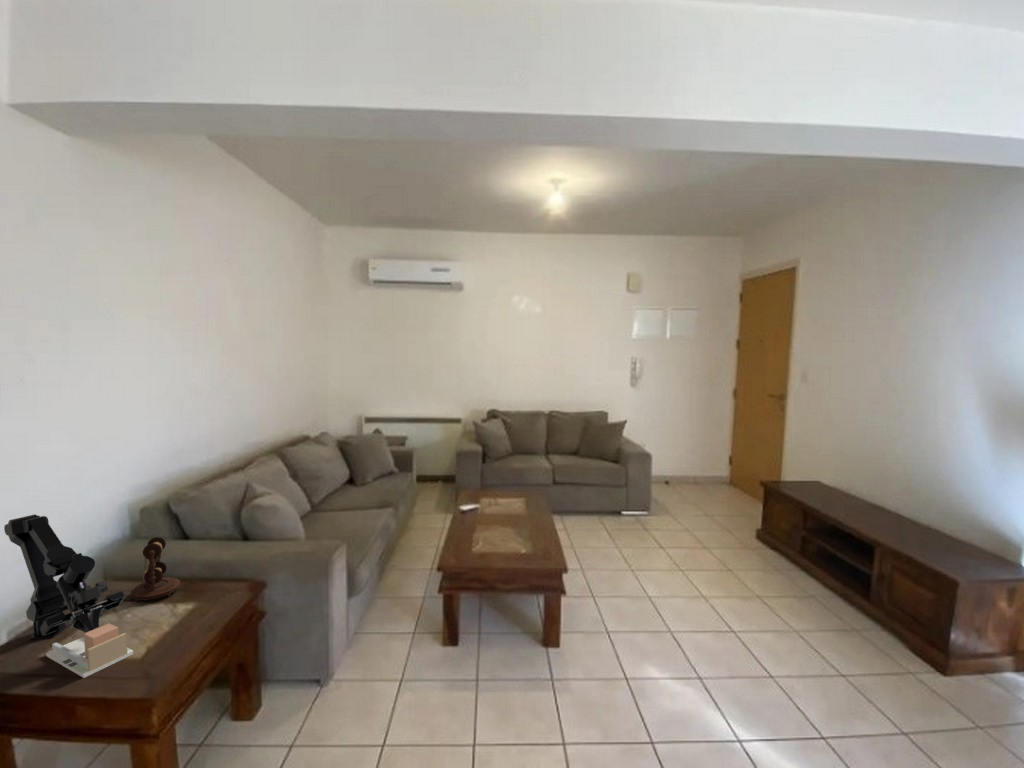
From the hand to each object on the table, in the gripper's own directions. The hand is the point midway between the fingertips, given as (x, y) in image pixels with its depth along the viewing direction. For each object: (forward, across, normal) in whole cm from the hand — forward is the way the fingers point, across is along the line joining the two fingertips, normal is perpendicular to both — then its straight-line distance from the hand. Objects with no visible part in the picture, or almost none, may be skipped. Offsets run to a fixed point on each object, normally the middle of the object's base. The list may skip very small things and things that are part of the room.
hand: (96, 636), depth 143 cm
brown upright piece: (-14, +30, +24) cm, 40 cm away
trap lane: (+2, 0, +8) cm, 8 cm away
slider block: (+6, 0, +2) cm, 6 cm away
